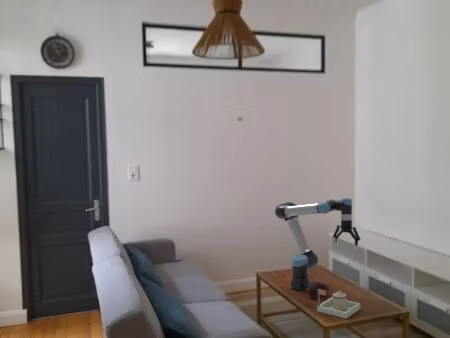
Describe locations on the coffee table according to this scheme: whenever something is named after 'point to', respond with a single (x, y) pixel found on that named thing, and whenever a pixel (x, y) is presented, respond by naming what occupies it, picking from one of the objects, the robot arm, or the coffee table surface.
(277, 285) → the coffee table surface
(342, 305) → the teacup with lid
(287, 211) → the robot arm
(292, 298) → the coffee table surface
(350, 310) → the mint green square tray
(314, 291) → the pine cone
